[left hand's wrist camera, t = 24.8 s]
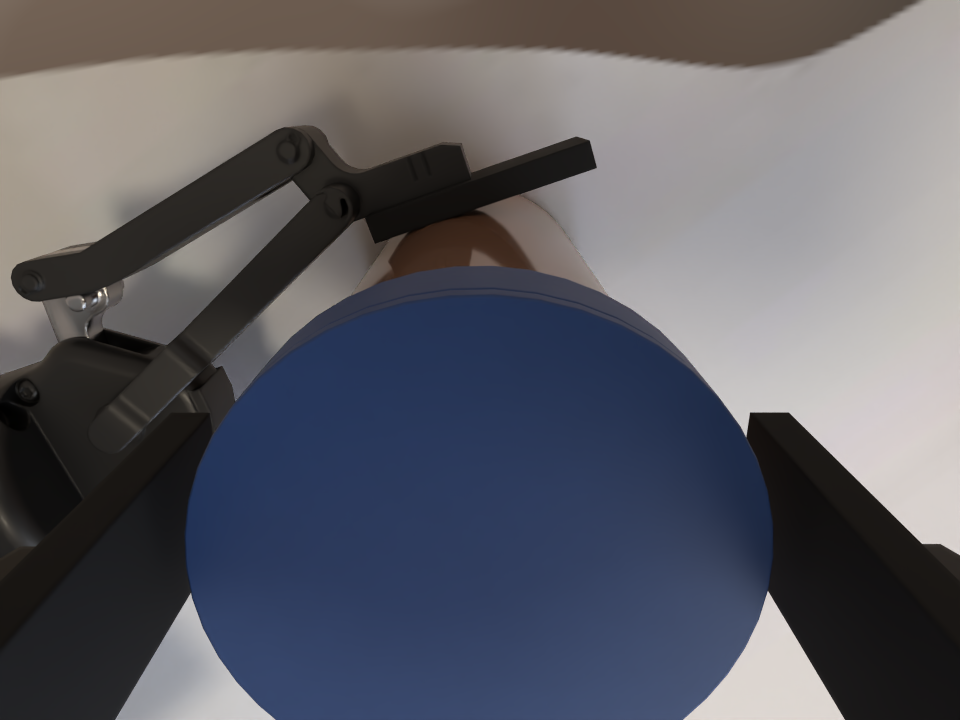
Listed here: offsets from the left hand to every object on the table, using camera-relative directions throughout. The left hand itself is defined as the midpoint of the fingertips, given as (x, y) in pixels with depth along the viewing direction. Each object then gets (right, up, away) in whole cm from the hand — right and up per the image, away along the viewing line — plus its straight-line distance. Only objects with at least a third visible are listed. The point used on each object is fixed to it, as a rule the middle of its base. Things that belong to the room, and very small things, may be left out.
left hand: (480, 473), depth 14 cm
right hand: (+4, +4, +7) cm, 10 cm away
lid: (0, -1, -3) cm, 3 cm away
